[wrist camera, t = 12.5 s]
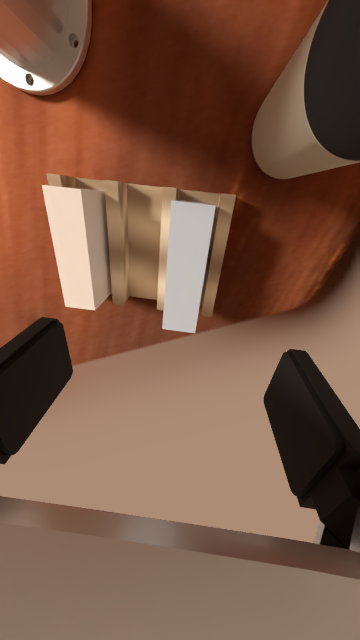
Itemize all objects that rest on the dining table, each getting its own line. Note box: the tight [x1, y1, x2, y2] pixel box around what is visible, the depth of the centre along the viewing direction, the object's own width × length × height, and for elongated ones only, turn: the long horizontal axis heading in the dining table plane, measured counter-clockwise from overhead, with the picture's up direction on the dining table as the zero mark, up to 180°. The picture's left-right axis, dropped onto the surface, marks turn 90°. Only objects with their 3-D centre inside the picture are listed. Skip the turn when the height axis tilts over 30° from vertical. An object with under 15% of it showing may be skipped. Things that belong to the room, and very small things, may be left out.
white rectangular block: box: [162, 200, 216, 333], centre depth 23 cm, size 12×4×9 cm, turn 174°
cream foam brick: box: [42, 185, 112, 310], centre depth 25 cm, size 12×4×7 cm, turn 174°
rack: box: [46, 173, 236, 317], centre depth 27 cm, size 14×20×4 cm
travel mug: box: [252, 0, 360, 179], centre depth 14 cm, size 8×8×18 cm
